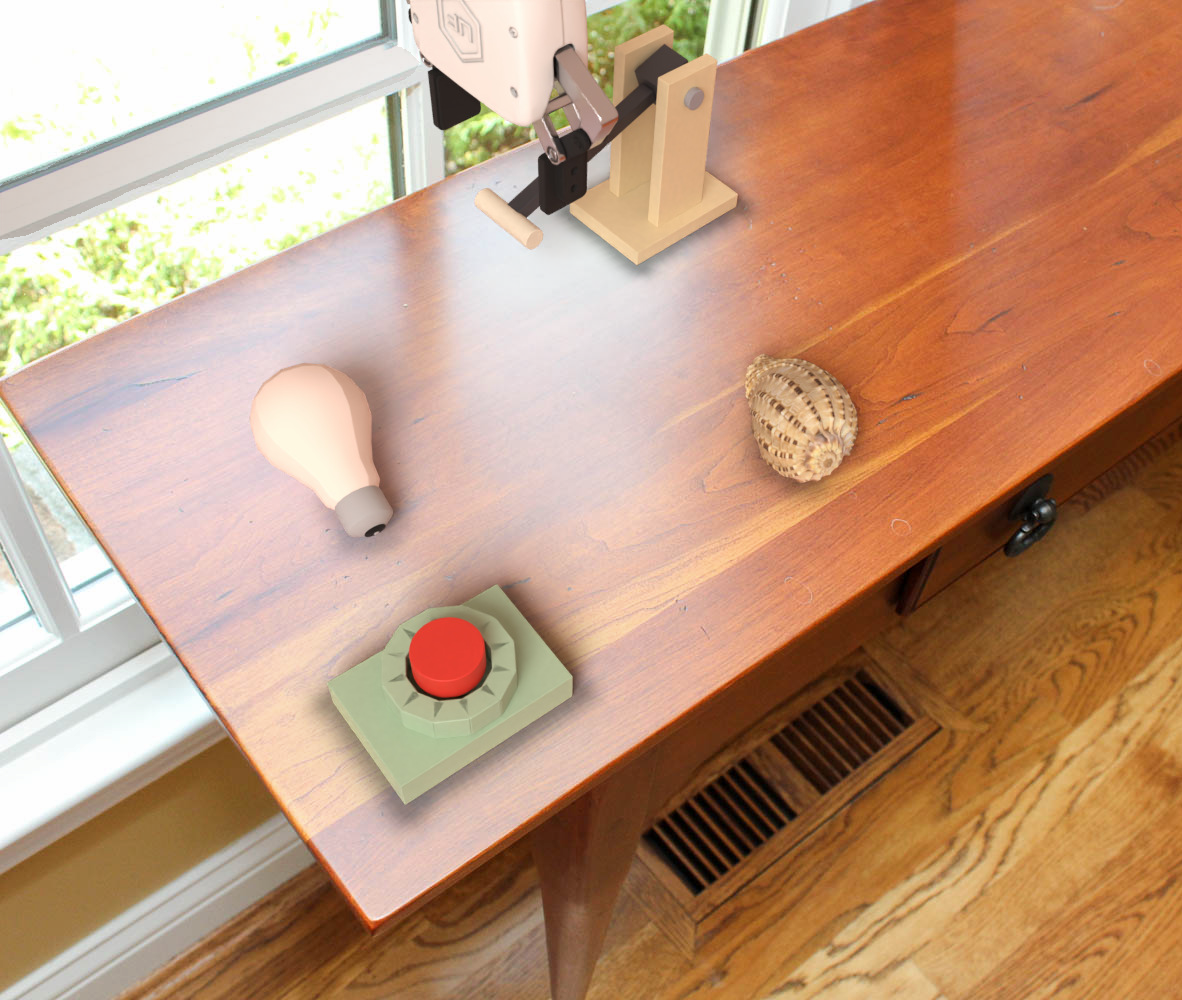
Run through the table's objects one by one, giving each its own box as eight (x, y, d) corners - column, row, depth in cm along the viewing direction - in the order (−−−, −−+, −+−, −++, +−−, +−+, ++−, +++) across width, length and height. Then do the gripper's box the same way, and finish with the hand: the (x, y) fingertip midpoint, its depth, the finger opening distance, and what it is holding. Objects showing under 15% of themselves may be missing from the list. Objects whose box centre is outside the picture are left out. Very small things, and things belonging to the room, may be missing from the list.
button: (437, 711, 59) (434, 694, 58) (398, 658, 61) (394, 641, 59) (500, 672, 61) (499, 655, 60) (461, 622, 62) (458, 604, 61)
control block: (405, 805, 60) (396, 771, 57) (332, 702, 63) (320, 664, 60) (572, 696, 65) (573, 659, 62) (498, 604, 67) (495, 564, 64)
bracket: (636, 265, 85) (647, 109, 75) (569, 212, 87) (570, 54, 77) (736, 206, 90) (758, 52, 80) (670, 158, 92) (683, 2, 82)
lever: (532, 258, 77) (520, 236, 75) (480, 216, 79) (468, 193, 77) (709, 95, 80) (703, 70, 78) (656, 58, 82) (649, 32, 80)
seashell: (708, 452, 79) (805, 509, 72) (693, 370, 76) (792, 421, 69) (801, 405, 83) (902, 455, 76) (789, 325, 79) (894, 369, 72)
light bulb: (422, 487, 66) (325, 323, 68) (308, 548, 64) (212, 378, 66) (437, 520, 72) (348, 370, 74) (334, 577, 70) (246, 421, 72)
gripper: (323, -176, 61) (369, 113, 75) (553, -15, 55) (557, 266, 69) (444, -214, 65) (467, 68, 78) (672, -67, 59) (654, 210, 72)
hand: (509, 160), depth 74 cm, fingers open, 9 cm apart
